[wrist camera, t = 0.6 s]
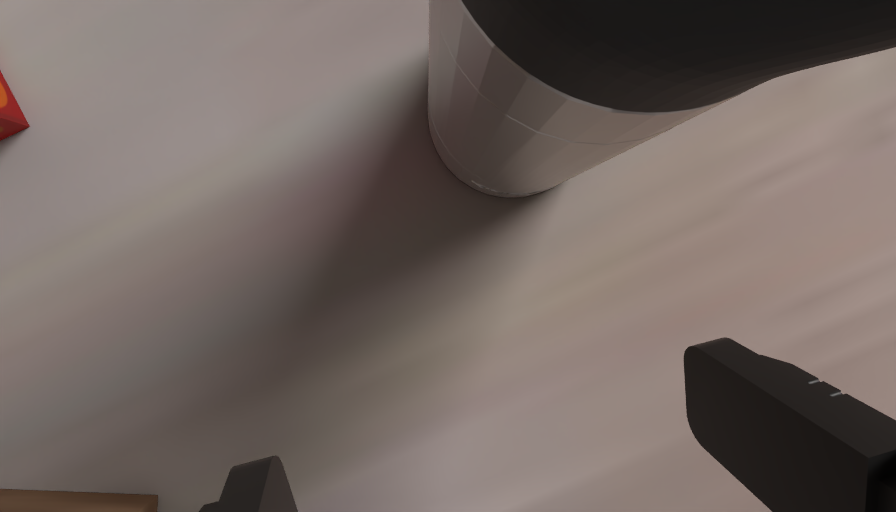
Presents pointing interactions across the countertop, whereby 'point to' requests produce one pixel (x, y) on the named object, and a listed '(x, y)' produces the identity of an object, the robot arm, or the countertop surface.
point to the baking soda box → (9, 112)
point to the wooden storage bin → (74, 501)
